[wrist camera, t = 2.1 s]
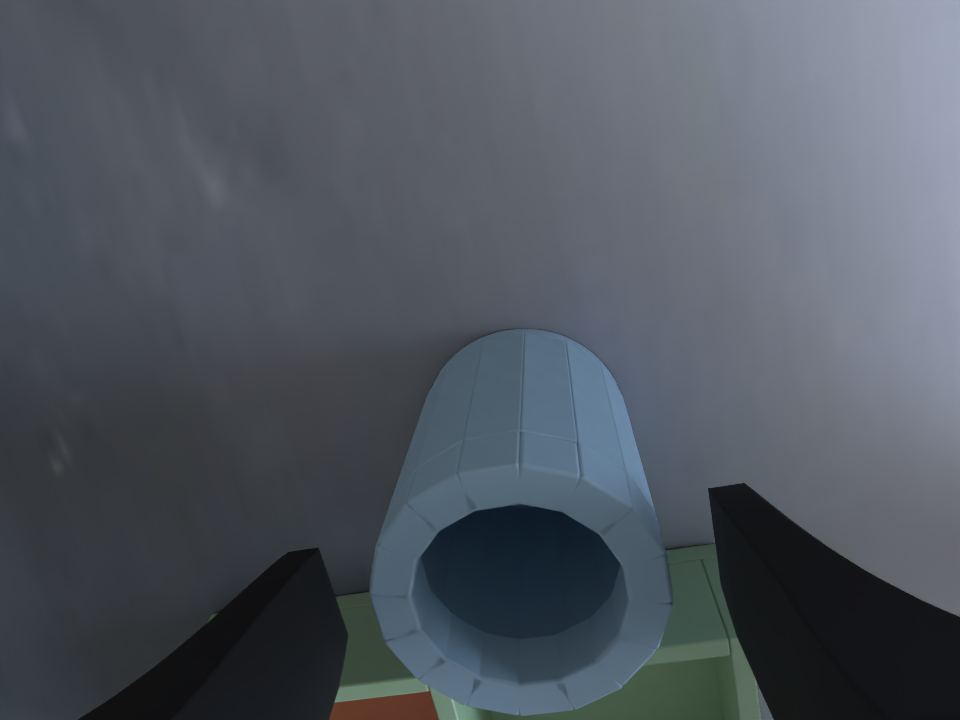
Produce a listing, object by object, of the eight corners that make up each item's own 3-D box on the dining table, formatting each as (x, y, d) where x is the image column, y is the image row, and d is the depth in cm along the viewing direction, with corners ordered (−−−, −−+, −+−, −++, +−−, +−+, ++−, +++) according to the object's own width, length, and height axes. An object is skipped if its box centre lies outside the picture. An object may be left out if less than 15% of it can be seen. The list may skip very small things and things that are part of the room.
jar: (607, 310, 18) (650, 442, 11) (638, 492, 19) (690, 699, 13) (404, 348, 18) (334, 492, 12) (451, 520, 20) (410, 729, 14)
